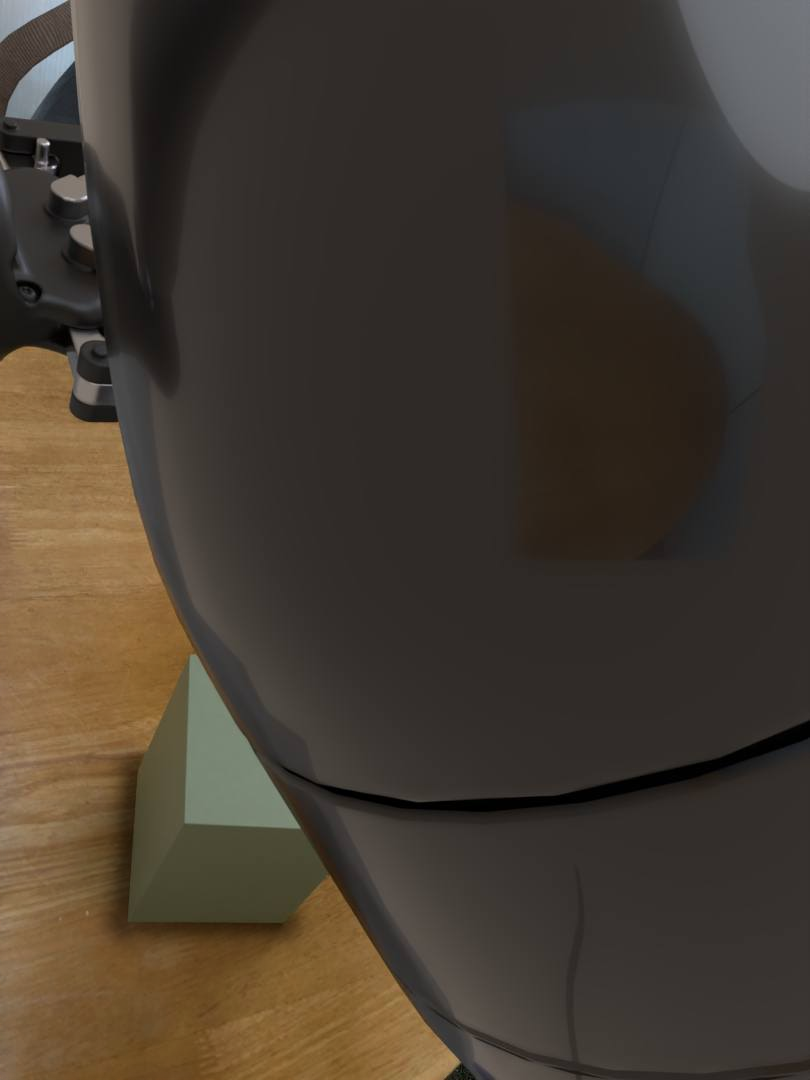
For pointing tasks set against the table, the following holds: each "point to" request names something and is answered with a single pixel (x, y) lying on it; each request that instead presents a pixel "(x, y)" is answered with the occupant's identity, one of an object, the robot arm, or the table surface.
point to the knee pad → (28, 48)
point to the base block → (212, 822)
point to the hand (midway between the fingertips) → (294, 274)
